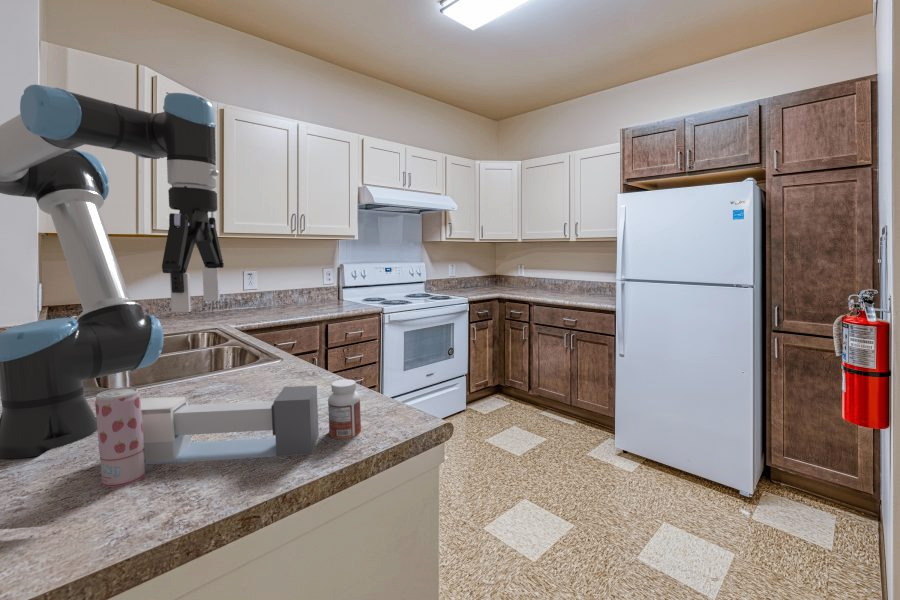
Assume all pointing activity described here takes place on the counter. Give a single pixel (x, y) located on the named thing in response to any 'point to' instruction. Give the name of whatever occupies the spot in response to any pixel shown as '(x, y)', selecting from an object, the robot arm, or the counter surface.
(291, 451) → the socket
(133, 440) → the beverage can
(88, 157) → the robot arm
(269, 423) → the tube
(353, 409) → the pill bottle
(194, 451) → the mounting board
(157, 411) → the sleeve
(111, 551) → the counter surface
